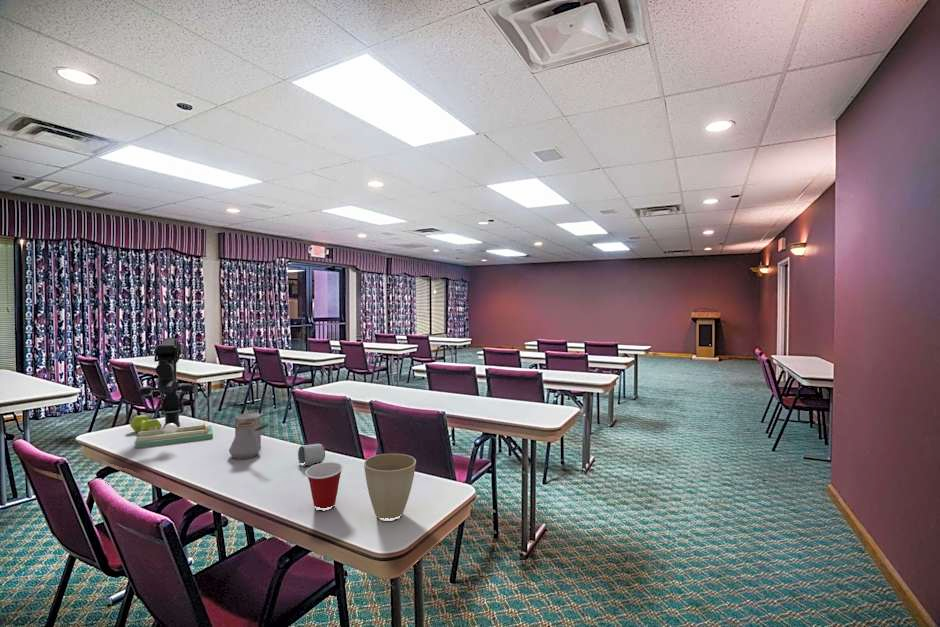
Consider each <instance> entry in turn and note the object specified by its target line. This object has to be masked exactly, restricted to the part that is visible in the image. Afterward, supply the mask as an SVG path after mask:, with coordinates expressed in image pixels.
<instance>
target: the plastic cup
mask: <svg viewBox="0 0 940 627" xmlns="http://www.w3.org/2000/svg"><path fill="white" fill-rule="evenodd" d="M343 468H344V467H343V464H341V463H339V462H334V461H328V462H327V461H326V462H324V461H323V462H320V463H317V464H312V465H310V467H308V468H307V469H306V470H305V472H304V473H305V475H306V477H307V479H308V482H309V488H310V492H311V498H312V500H313V501H312V502H313V503H312V504H313V507H314V506H316V507H320V508H327V507H331V506H333V505H336V501H337V496H338V491H339V490H338V489H339V485H340V484H339V483H340V478H341V475H342V472H343Z"/></svg>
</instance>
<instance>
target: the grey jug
mask: <svg viewBox="0 0 940 627" xmlns="http://www.w3.org/2000/svg"><path fill="white" fill-rule="evenodd" d="M234 419H235V422H234V428H235V433H234V435H235V436H236V434H237V431H238V427H237V426H236V425H237V424H238V423H242V422H253V423H254V425H253V427H252V429H253V430H255V429H257V428H258V427H260V426H262V424H261V413H259V412H245V413H240V414H239V413H238V414H237V415H235V417H234ZM261 430H262V429H261ZM261 430H258V431H255V432H254V433H255V435H256V437H257V439H258V441H259V443H260V445H261V446H262V443H261V442H262V440H261V438H262V434H261ZM235 436H234V437H235Z"/></svg>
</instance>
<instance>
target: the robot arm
mask: <svg viewBox="0 0 940 627" xmlns="http://www.w3.org/2000/svg"><path fill="white" fill-rule="evenodd" d="M182 350H183V349H182V344H181V343H180V342H178V340H177V338H175V337H165V338H163V342H162V343H160V344H158V345H157V346H156V347H155V350H154V362H158V364H157V366H156V367H155V373H156V375H157V376H158V378H157V379H158V382H157V387H152V386H151V385H150V386H147V385H146V386H141V387H140V389H139V396H143V398H147V400H148V402H149V405H150V406H151V408H152V411H155V402H154V401H155V400H154V396H153V393H159V394H164V393H166V394H165V396H164V397H163V399H162V402H161V403H160V411H161V416H165V417H164V424H163V428H164V427H165V426H166V425H167V424H169V423H174V424H176V426H177V427H180V426H181V422H180V414H183V413H184V412H185V411H184V410H185V409H184V403H183V399H184V398H185V396H186V394H189V393H190V392H192V391H193V390H192V383H189V382H188V383H180V385H179V381H178V380H177V364H178V362H179V360H180V358H181V356H182V353H183V352H182ZM177 391H179V393H178V392H177Z"/></svg>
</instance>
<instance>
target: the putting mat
mask: <svg viewBox="0 0 940 627" xmlns="http://www.w3.org/2000/svg"><path fill="white" fill-rule="evenodd" d="M213 432H214V431H213V428H212V425H209V423H208V421H207V420H204V424H197V425H188V426H181V427H180V426H177V431H176V432H175V433H172V434H166V433H165V432H164V428H161V429H160V430H151V431H138V432H137V437H136V439H135V441H136V442H135V449H142V448H148V447H156V446H162V445H171V444H179V443H180V444H181V443H186V442H195V441H202V440H203V441H204V440H209V439H210V440H211V439H213V438H214V436H213V435H214V433H213Z"/></svg>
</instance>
